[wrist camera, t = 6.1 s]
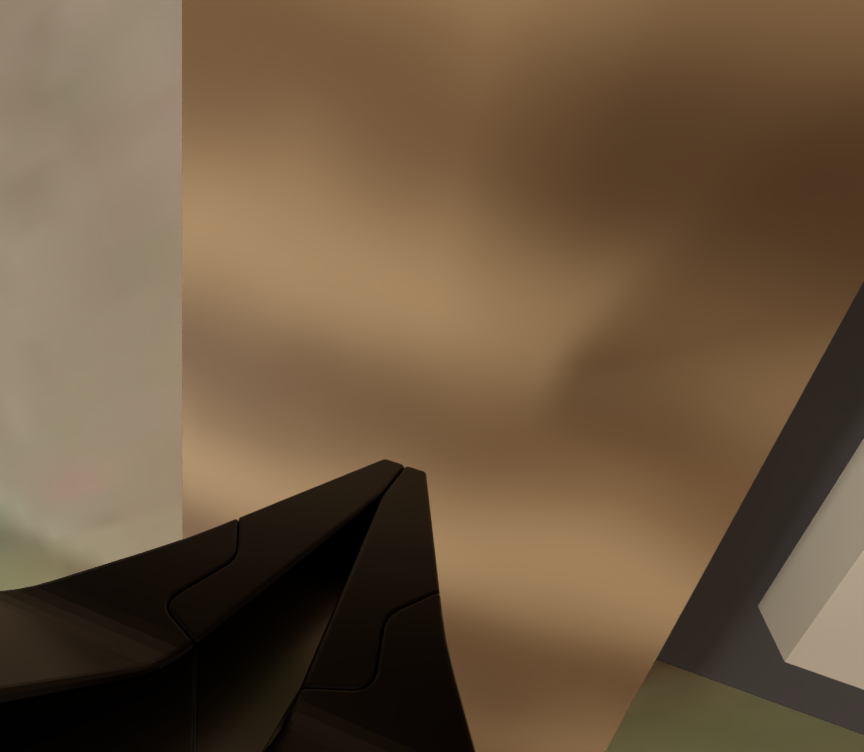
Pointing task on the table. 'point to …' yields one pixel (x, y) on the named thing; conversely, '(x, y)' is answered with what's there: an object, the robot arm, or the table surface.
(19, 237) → the table surface
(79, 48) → the table surface
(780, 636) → the cream bevelled slab
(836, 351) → the bar mat
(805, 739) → the table surface
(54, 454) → the table surface
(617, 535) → the serving board
